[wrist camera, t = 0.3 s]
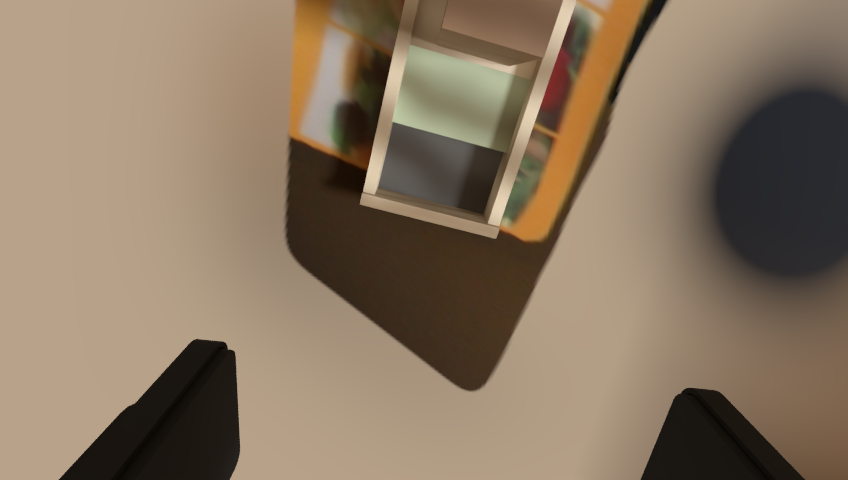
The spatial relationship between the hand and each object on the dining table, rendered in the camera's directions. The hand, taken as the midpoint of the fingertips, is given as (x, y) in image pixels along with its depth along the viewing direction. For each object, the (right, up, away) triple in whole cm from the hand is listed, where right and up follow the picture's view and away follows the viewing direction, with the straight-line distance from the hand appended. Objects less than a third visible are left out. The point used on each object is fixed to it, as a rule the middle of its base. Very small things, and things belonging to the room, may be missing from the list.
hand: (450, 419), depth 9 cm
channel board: (+3, +19, +25) cm, 32 cm away
